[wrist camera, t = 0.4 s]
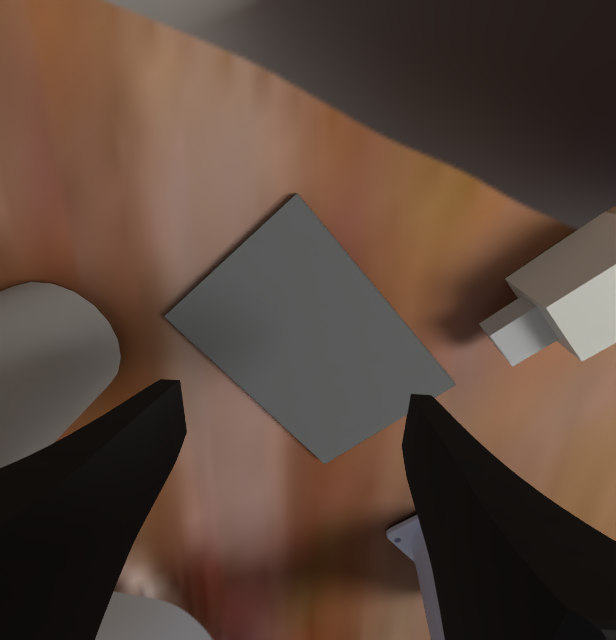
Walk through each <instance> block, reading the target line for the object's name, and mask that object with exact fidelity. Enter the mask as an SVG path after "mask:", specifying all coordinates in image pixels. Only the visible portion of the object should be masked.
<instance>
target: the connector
mask: <svg viewBox="0 0 616 640" xmlns="http://www.w3.org/2000/svg"><path fill="white" fill-rule="evenodd" d="M505 280H506V282H507V283H508V285H509V286H510V287H511V289H512V290H513V292H514V293H515V295H516V296H517V298H518V299H516V300H515V301H513V302H512V303H510V304H509V305H507V306H506V307H504V308H502V309H501V310H499V311H498V312H496V313H495V314H493V315H492V316H490V317H489V318H487V319H485V320H484V321H482V322H481V323H479V325H480V326H481V327H482V329H483V330H484V331H485V333H486V334H487V335H488V337H489V338H490V339H491V341H492V342H493V343H494V345H495V346H496V347H497V349H498V350H499V351H500V353H501V354H502V355H503V356H504V357H505V358H506V360H507V361H508V362H509V363H510V364H511V365H512V366H514V365H516V364H518V363H519V362H521V361H523V360H524V359H526V358H528V357H530V356H531V355H533V354H535V353H536V352H538V351H540V350H541V349H543V348H545V347H547V346H548V345H550V344H552V343H553V342H555V341H557V342H558V343H560V344H561V345H562V346H563V347H565V348H566V349H567V350H568V351H569V352H571V353H572V354H573V355H574V356H576V357H577V358H578V359H579V360H581V361H584V360H586V359H587V358H589V357H591V356H593V355H595V354H596V353H598V352H600V351H602V350H604V349H605V348H607V347H609V346H611V345H612V344H614V343H616V206H614V207H612V208H610V209H608V210H607V211H605V212H603V213H602V214H600V215H599V216H597V217H596V218H594V219H593V220H591V221H590V222H588V223H587V224H585V225H584V226H582V227H581V228H579V229H578V230H576V231H575V232H573V233H572V234H570V235H569V236H567V237H566V238H564V239H563V240H562V241H560V242H559V243H557V244H556V245H554V246H553V247H551V248H550V249H548V250H547V251H545V252H544V253H542V254H541V255H539V256H538V257H536V258H535V259H533V260H532V261H530V262H529V263H527V264H526V265H524V266H523V267H521V268H520V269H518V270H517V271H515V272H514V273H512V274H511V275H510V276H508V277H507V278H505Z"/></svg>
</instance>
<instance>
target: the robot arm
mask: <svg viewBox="0 0 616 640" xmlns="http://www.w3.org/2000/svg"><path fill="white" fill-rule="evenodd" d="M186 433H187V430H186V422H185V414H184V407H183V399H182V392H181V384H180V380H164V379H161V380H159V381H157V382H155V383H154V384H152V385H150V386H149V387H147V388H145V389H144V390H142V391H141V392H139V393H138V394H136V395H134V396H133V397H131V398H130V399H128V400H127V401H125V402H123V403H122V404H120V405H119V406H117V407H115V408H114V409H112V410H111V411H109V412H108V413H106V414H104V415H103V416H101V417H99V418H98V419H96V420H94V421H92V422H91V423H89V424H87V425H86V426H84V427H82V428H80V429H79V430H77V431H75V432H73V433H72V434H70V435H68V436H66V437H65V438H63V439H61V440H59V441H57V442H55V443H53V444H51V445H49V446H47V447H45V448H43V449H41V450H39V451H37V452H35V453H33V454H31V455H29V456H27V457H25V458H22V459H20V460H18V461H16V462H13V463H11V464H9V465H6V466H4V467H2V468H0V640H95V638H96V635H97V632H98V630H99V627H100V624H101V621H102V619H103V616H104V614H105V611H106V609H107V606H108V604H109V601H110V598H111V596H112V593H113V591H114V588H115V586H116V583H117V581H118V578H119V576H120V574H121V571H122V569H123V566H124V564H125V562H126V559H127V557H128V554H129V552H130V550H131V547H132V545H133V543H134V541H135V539H136V537H137V535H138V533H139V531H140V529H141V527H142V525H143V523H144V521H145V519H146V517H147V515H148V514H149V512H150V510H151V508H152V506H153V504H154V502H155V500H156V499H157V497H158V495H159V493H160V491H161V489H162V487H163V485H164V484H165V482H166V480H167V478H168V476H169V474H170V472H171V470H172V468H173V466H174V464H175V462H176V460H177V457H178V455H179V452H180V450H181V447H182V444H183V441H184V439H185V436H186ZM402 450H403V457H404V464H405V470H406V476H407V480H408V484H409V487H410V491H411V495H412V498H413V502H414V505H415V509H416V512H417V515H415V516H413V517H411V518H409V519H407V520H405V521H403V522H401V523H399V524H397V525H395V526H393V527H391V528H389V529H388V530H387V531H386V534H387V538H388V539H389V540H390V541H391V542H392V543H393V544H394V545H395V546H397V547H398V548H399V549H400V550H401V551H402V552H403V553H404V554H406V555H407V556H408V557H409V558H410V559H411V560H412V561H413V562H414V563H415V566H416V571H417V575H418V580H419V585H420V590H421V594H422V599H423V604H424V609H425V613H426V618H427V623H428V627H429V632H430V637H431V640H616V541H614V540H612V539H611V538H609V537H607V536H606V535H604V534H602V533H601V532H599V531H597V530H596V529H594V528H593V527H591V526H589V525H588V524H586V523H585V522H583V521H582V520H580V519H579V518H577V517H575V516H574V515H572V514H571V513H569V512H568V511H566V510H565V509H563V508H562V507H560V506H559V505H557V504H556V503H554V502H553V501H552V500H550V499H549V498H547V497H546V496H544V495H543V494H542V493H540V492H539V491H538V490H536V489H535V488H534V487H532V486H531V485H530V484H528V483H527V482H526V481H524V480H523V479H522V478H520V477H519V476H518V475H517V474H515V473H514V472H513V471H512V470H510V469H509V468H508V467H507V466H505V465H504V464H503V463H502V462H501V461H500V460H498V459H497V458H496V457H495V456H494V455H493V454H491V453H490V452H489V451H488V450H487V449H486V448H485V447H484V446H483V445H481V444H480V443H479V442H478V441H477V440H476V439H475V438H474V437H473V436H472V435H471V434H470V433H469V432H468V431H467V430H466V429H465V428H464V427H463V426H461V425H460V424H459V423H458V422H457V421H456V420H455V419H454V418H453V416H452V415H451V414H450V413H449V412H448V411H447V410H446V409H445V408H444V407H443V406H442V405H441V404H440V403H439V402H438V401H437V400H436V399H435V398H434V397H433V396H432V395H422V394H411V396H410V402H409V407H408V413H407V419H406V425H405V430H404V436H403V442H402Z"/></svg>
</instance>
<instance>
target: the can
mask: <svg viewBox="0 0 616 640" xmlns="http://www.w3.org/2000/svg"><path fill="white" fill-rule="evenodd" d="M120 360H121V355H120V349H119V343H118V339H117V337H116V335H115V333H114V331H113V329H112V327H111V325H110V323H109V322H108V320H107V319H106V318H105V317H104V316H103V315H102V314H101V313H100V311H99V310H98V309H97V308H96V307H95V306H94V305H93V304H91V303H90V302H88V301H87V300H86V299H84V298H83V297H81V296H80V295H78V294H77V293H75V292H74V291H71V290H68V289H65V288H63V287H60V286H57V285H55V284H51V283H39V282H28V283H24V284H20V285H16V286H12V287H10V288H8V289H5V290H3V291H0V468H2V467H4V466H6V465H9V464H11V463H13V462H16V461H18V460H20V459H22V458H25V457H27V456H29V455H31V454H33V453H35V452H37V451H39V450H41V449H43V448H45V447H47V446H49V445H51V444H53V443H54V442H55V441H56V440H57V439H58V438H59V437H60V436H61V435H62V434H63V433H64V432H65V430H66V429H67V428H68V427H69V426H70V425H71V424H72V423H73V422H74V421H75V420H76V419H77V418H78V417H79V416H80V415H81V414H82V413H83V412H84V411H85V410H86V409H87V408H88V407H89V405H90V404H91V403H92V402H93V401H94V400H95V399H96V398H97V397H98V396H99V395H100V394H101V393H102V392H103V391H104V390H105V389H106V388H107V387H108V386H109V384H110V383H111V382H112V380H113V379H114V378H115V376H116V375H117V373H118V369H119V364H120Z"/></svg>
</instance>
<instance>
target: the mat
mask: <svg viewBox="0 0 616 640" xmlns="http://www.w3.org/2000/svg"><path fill="white" fill-rule="evenodd" d="M164 317H165V318H166V319H167V320H168V321H169V322H170V323H172V324H173V325H174V326H175V327H176V328H177V329H178V330H179V331H180V332H181V333H182V334H184V335H185V336H186V337H187V338H188V339H189V340H190V341H191V342H192V343H193V344H194V345H195V346H197V347H198V348H199V349H200V350H201V351H202V352H203V353H204V354H205V355H206V356H207V357H209V358H210V359H211V360H212V361H213V362H214V363H215V364H216V365H217V366H218V367H219V368H220V369H222V370H223V371H224V372H225V373H226V374H227V375H228V376H229V377H230V378H231V379H232V380H234V381H235V382H236V383H237V384H238V385H239V386H240V387H241V388H242V389H243V390H244V391H246V392H247V393H248V394H249V395H250V396H251V397H252V398H253V399H254V400H255V401H256V402H257V403H259V404H260V405H261V406H262V407H263V408H264V409H265V410H266V411H267V412H268V413H269V414H271V415H272V416H273V417H274V418H275V419H276V420H277V421H278V422H279V423H280V424H281V425H283V426H284V427H285V428H286V429H287V430H288V431H289V432H290V433H291V434H292V435H293V436H294V437H296V438H297V439H298V440H299V441H300V442H301V443H302V444H303V445H304V446H305V447H306V448H308V449H309V450H310V451H311V452H312V453H313V454H314V455H315V456H316V457H317V458H318V459H319V460H321V461H322V462H323V463H324V464H326V463H327V462H329V461H331V460H332V459H334V458H336V457H337V456H339V455H340V454H342V453H344V452H345V451H347V450H349V449H350V448H352V447H354V446H355V445H357V444H359V443H360V442H362V441H364V440H365V439H367V438H369V437H370V436H372V435H374V434H375V433H377V432H379V431H380V430H382V429H384V428H385V427H387V426H389V425H390V424H392V423H394V422H395V421H397V420H399V419H400V418H402V417H404V416H405V415H407V413H408V407H409V402H410V396H411V394H422V395H432V396H433V397H434V398H435V397H437V396H438V395H440V394H442V393H443V392H445V391H447V390H448V389H450V388H452V387H453V386H455V383H454V381H453V380H452V378H451V377H450V376H449V375H448V374H447V372H446V371H445V370H444V369H443V368H442V366H441V365H440V364H439V363H438V362H437V360H436V359H435V358H434V357H433V356H432V354H431V353H430V352H429V351H428V350H427V348H426V347H425V346H424V345H423V344H422V342H421V341H420V340H419V339H418V338H417V336H416V335H415V334H414V333H413V332H412V330H411V329H410V328H409V327H408V326H407V324H406V323H405V322H404V321H403V320H402V318H401V317H400V316H399V315H398V314H397V312H396V311H395V310H394V309H393V308H392V306H391V305H390V304H389V303H388V302H387V300H386V299H385V298H384V297H383V296H382V294H381V293H380V292H379V291H378V290H377V288H376V287H375V286H374V285H373V284H372V282H371V281H370V280H369V279H368V278H367V276H366V275H365V274H364V273H363V272H362V270H361V269H360V268H359V267H358V266H357V264H356V263H355V262H354V261H353V259H352V258H351V257H350V256H349V255H348V253H347V252H346V251H345V250H344V249H343V247H342V246H341V245H340V244H339V243H338V241H337V240H336V239H335V238H334V237H333V235H332V234H331V233H330V232H329V231H328V229H327V228H326V227H325V226H324V225H323V223H322V222H321V221H320V220H319V219H318V217H317V216H316V215H315V214H314V213H313V211H312V210H311V209H310V208H309V207H308V205H307V204H306V203H305V202H304V201H303V199H302V198H301V197H300V196H299V195H298V193H297V194H295V195H294V196H293V197H292V198H291V199H290V200H289V201H288V202H287V203H286V204H285V205H284V206H283V207H281V208H280V209H279V210H278V211H277V212H276V213H275V214H274V215H273V216H272V217H271V218H270V219H269V220H267V221H266V222H265V223H264V224H263V225H262V226H261V227H260V228H259V229H258V230H257V231H256V232H255V233H253V234H252V235H251V236H250V237H249V238H248V239H247V240H246V241H245V242H244V243H243V244H242V245H241V246H239V247H238V248H237V249H236V250H235V251H234V252H233V253H232V254H231V255H230V256H229V257H228V258H227V259H225V260H224V261H223V262H222V263H221V264H220V265H219V266H218V267H217V268H216V269H215V270H214V271H213V272H211V273H210V274H209V275H208V276H207V277H206V278H205V279H204V280H203V281H202V282H201V283H200V284H199V285H197V286H196V287H195V288H194V289H193V290H192V291H191V292H190V293H189V294H188V295H187V296H186V297H185V298H183V299H182V300H181V301H180V302H179V303H178V304H177V305H176V306H175V307H174V308H173V309H172V310H171V311H169V312H168V313H167V314H166V315H165V316H164Z"/></svg>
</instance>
